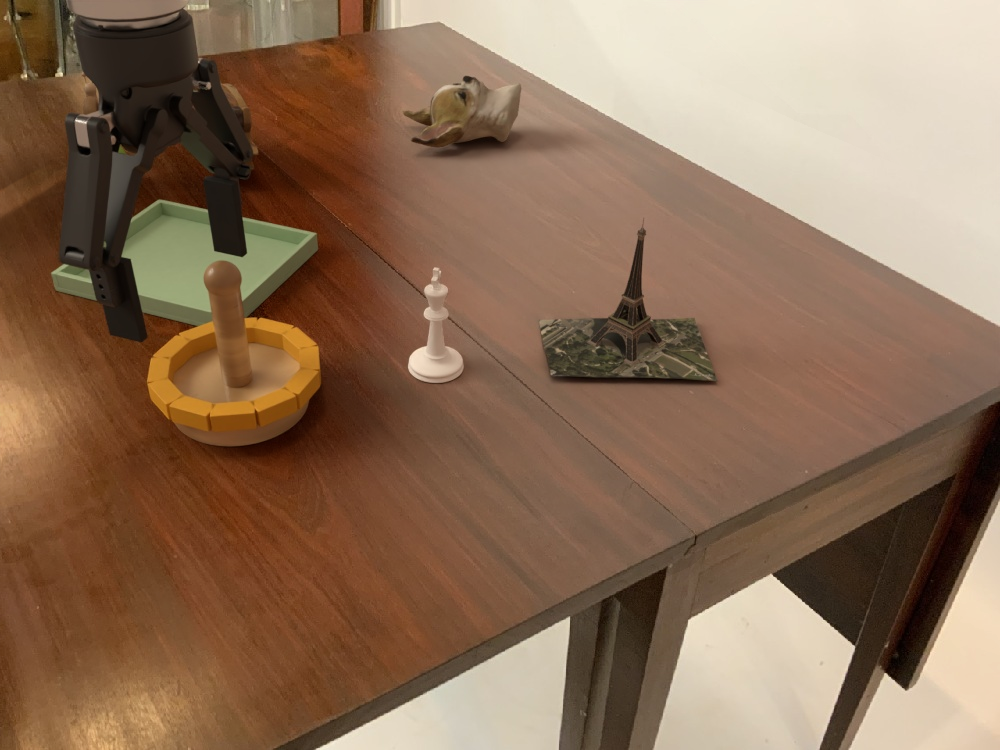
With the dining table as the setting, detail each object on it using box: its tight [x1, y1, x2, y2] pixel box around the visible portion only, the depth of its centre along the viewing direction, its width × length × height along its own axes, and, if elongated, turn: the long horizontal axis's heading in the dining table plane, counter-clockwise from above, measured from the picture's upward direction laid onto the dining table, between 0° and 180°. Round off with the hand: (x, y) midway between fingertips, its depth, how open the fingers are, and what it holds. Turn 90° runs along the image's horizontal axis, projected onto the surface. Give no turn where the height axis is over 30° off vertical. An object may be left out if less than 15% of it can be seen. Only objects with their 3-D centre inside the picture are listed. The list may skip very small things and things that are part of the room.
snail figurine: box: [81, 71, 127, 154], centre depth 109 cm, size 5×6×12 cm
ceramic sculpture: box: [402, 75, 522, 148], centre depth 125 cm, size 11×9×15 cm
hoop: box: [146, 317, 322, 432], centre depth 79 cm, size 13×13×2 cm
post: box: [173, 260, 310, 447], centre depth 77 cm, size 11×11×13 cm
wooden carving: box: [193, 80, 259, 173], centre depth 114 cm, size 16×5×10 cm, turn 39°
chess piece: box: [407, 266, 465, 384], centre depth 83 cm, size 5×5×10 cm
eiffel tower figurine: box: [538, 217, 718, 382], centre depth 86 cm, size 15×10×13 cm
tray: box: [50, 199, 319, 327], centre depth 97 cm, size 19×17×2 cm
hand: (183, 291), depth 76 cm, fingers open, 13 cm apart
